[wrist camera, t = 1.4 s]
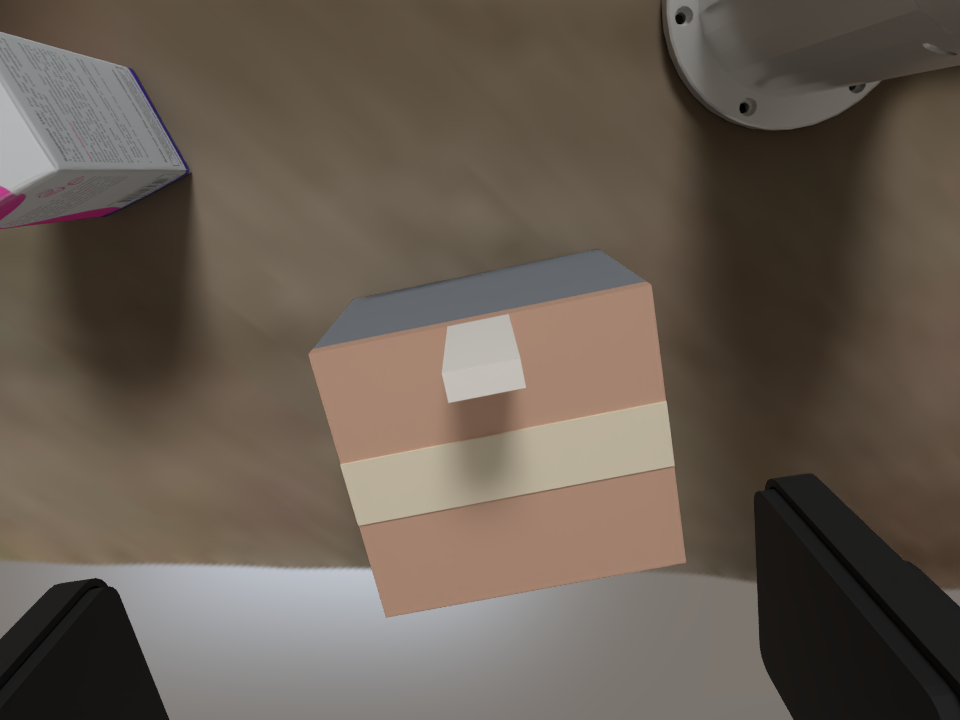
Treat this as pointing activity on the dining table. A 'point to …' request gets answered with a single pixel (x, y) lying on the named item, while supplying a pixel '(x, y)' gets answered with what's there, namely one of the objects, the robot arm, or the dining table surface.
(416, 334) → the lid
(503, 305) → the carton
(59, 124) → the supplement box
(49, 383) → the dining table surface
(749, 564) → the dining table surface
